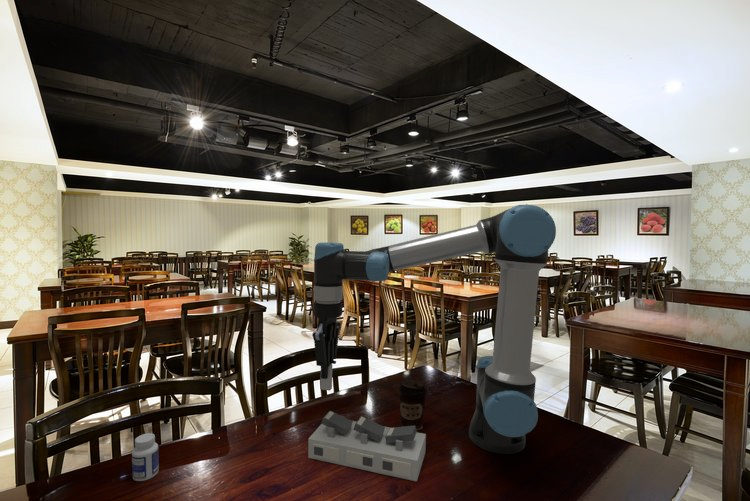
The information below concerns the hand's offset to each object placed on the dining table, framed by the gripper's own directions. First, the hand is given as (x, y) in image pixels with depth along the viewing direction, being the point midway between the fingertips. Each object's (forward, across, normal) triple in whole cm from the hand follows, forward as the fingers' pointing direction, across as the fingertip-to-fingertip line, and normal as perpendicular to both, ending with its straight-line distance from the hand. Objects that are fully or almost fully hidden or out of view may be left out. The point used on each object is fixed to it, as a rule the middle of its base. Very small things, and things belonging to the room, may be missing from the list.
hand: (326, 388), depth 98 cm
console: (+16, 0, +12) cm, 20 cm away
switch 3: (+10, 0, +21) cm, 23 cm away
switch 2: (+10, 0, +12) cm, 16 cm away
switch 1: (+10, 0, +3) cm, 10 cm away
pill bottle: (+16, +24, -35) cm, 45 cm away
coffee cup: (+16, -18, +20) cm, 31 cm away
